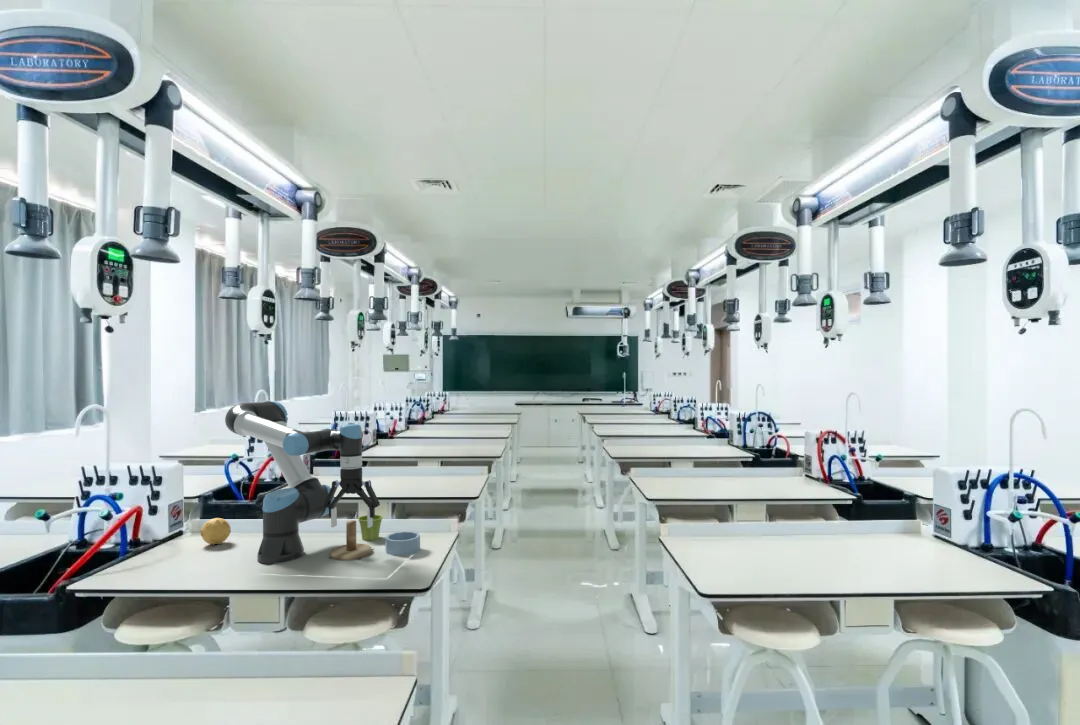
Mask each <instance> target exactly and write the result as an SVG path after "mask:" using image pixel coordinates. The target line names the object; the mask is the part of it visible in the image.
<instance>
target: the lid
mask: <svg viewBox="0 0 1080 725" xmlns="http://www.w3.org/2000/svg"><path fill="white" fill-rule="evenodd" d="M345 523H346V524H345V525H346V526H345V527H346V528H345V530H346V532H345V533H346V535H345V536H346V537H345V539H346V540H345V542H346V543H345V544H343V545H339V546H335V547H334V548H332V549H331V550H330V556H331V557H332V558H334V559H333V560H338V561H339V560H340V561H352V560H353V559H359V558H362V559H363V558H366V557H367V556H370V555H371V554H372V553H373V550H372V549H373V548H372V546H371V545H370V544H368V543H367V544H366V543H357V520H355V519H354V520H347V521H346V522H345Z"/></svg>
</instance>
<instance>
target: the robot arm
mask: <svg viewBox="0 0 1080 725" xmlns="http://www.w3.org/2000/svg"><path fill="white" fill-rule="evenodd" d="M288 415H289V414H288V412H287V410H286V407H285V406H284V405H283V404H282V403H280V402H278V401H271V400H266V401H255V402H241V403H237V404H235V405H233V406H231V407H230V408H229V409H228V410H227V412H226V414H225V417H224V422H225V425H226V426H225V427H226V428H227V429H228V431H230V432H232V433H233V434H236V435H239V436H242V437H247V436H250V437H252V438H255V439H256V440H257V439H258V440H259V441H263V442H264V444H265V445H266V447H267V449H268V451H269V453H270V454H271V456H272V458H273V460H274V462H275V463H276V465H277V467H278V469H279V470H280V471H279V472H280V473H281V474H282V477H283V478H284V479H285V482H286V484H287V485H288V487H287V488H283V489H282V488H280V489H277V490H274V491H271V492H269V493H267V494H266V495H265V496H264V498H263V500H262V501H263V503H262V508H261V509H262V540H261V543H260V546H259V549H258V552H257V556H256V557H257V558H256V559H257V562H258V563H261V564H264V565H272V564H278V563H286V562H291V561H295V560H297V559H300V558H301V557H303V556H304V555H305V549H304V548H305V546H304V545H303V542H302V539H301V536H300V532H299V530H300V529H299V528H300V527H299V526H300V523H305V522H307V521H311V520H312V521H313V520H316V519H320V518H323V517H326V516H327V515H328V517H329V518H330V524H331V526H330V527H331V528H334V527H336V526H337V525H338V516H337V515H338V514H337V513H338V512H337V507H336V505H337V504H338V503H339V501H340V500H341V499H342V497H343V496H344V495H345V494H347V495H349V494H352V495H354V494H357V495H358V496H359V497H360V498H361V500H362V501H363V502H364V503H365V505H366V506H367V509H366V515H367V527H368V528H370V527H372V526H373V517H374V516H375V515H376V513H375V512H376V511H375V510H376V508H378V507H380V505H381V503H380V501H379V498H378V497H377V495H376V492H375V490H374V489H373V486H372V481H371V480H367V481H364V480H363V467H362V466H363V448H362V447H363V444H362V443H363V432H362V431H363V430H362V426H361V425H360V424H358V423H357V424H356V423H355V424H354V423H352V424H351V423H350V424H341V425H339V426H340V427H339V429H331V428H322V429H319V430H315V431H305V432H304V431H301V430H298V429H296V428H292V427H289V426H288V420H289V417H288ZM325 451H326V452H327V451H339V454H340V455H339V456H340V457H339V460H340V463H339V464H340V466H339V467H340V471H339V473H340V480H337V479H335V480H333V481H332V482H331V486H330V485H327V484H321V481H320V480H319V478H318V477H315V476H312V475H311V473H310V471H309V469H308V468H307V466H306V464H305V462H304V460H303V459H302V457H301V456H302V455H307V454H313V453H320V452H325ZM339 486H340V488H341V489H340V490H339V492H338V494H337V495H336V496H335V494H336V493H337V490H338V488H339ZM362 487H364V488H365V490H366V492H367V493H366V492H365V490H364V488H362Z"/></svg>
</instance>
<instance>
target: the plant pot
mask: <svg viewBox="0 0 1080 725" xmlns="http://www.w3.org/2000/svg"><path fill="white" fill-rule="evenodd" d="M382 519H383V515H381V514H375V516H374V517H373V526H372V527H370V528H368V527H367V514H366V515H362V516H359V517H358V518H357V520H358V522H359V526H360V533H361V540H362V541H366V542H367V541H368V542H369V541H370V542H371V541H376V540H378V539H379V538H380V531H381V530H380V529H381V524H382Z"/></svg>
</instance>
